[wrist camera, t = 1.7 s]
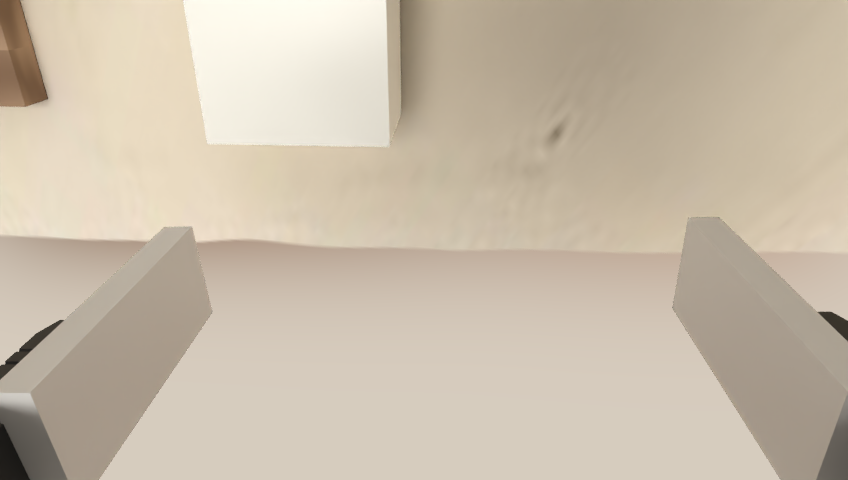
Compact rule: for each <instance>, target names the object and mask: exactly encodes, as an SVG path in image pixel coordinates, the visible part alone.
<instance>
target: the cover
mask: <svg viewBox="0 0 848 480" xmlns="http://www.w3.org/2000/svg"><path fill="white" fill-rule="evenodd" d="M183 3H184V9H185V15H186V21H187V27H188V33H189V38H190V44H191V50H192V56H193V62H194V68H195V74H196V80H197V86H198V92H199V98H200V104H201V110H202V115H203V121H204V127H205V133H206V139H207V144H237V145H296V146H354V147H390V145H391V142H392V139H393V136H394V133H395V130H396V127H397V124H398V121H399V118H400V115H401V43H400V0H183Z"/></svg>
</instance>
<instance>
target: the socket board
mask: <svg viewBox="0 0 848 480" xmlns="http://www.w3.org/2000/svg"><path fill="white" fill-rule="evenodd" d="M46 99H48V98H47V95H46V91H45V88H44V84H43V81H42V77H41V74H40V70H39V67H38V63H37V60H36V56H35V53H34V49H33V46H32V42H31V39H30V35H29V32H28V28H27V25H26V21H25V18H24V14H23V11H22V7H21V4H20V0H0V106H19V107H26V106H29V105H32V104H34V103H37V102H40V101H43V100H46Z"/></svg>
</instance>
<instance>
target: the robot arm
mask: <svg viewBox="0 0 848 480" xmlns="http://www.w3.org/2000/svg"><path fill="white" fill-rule="evenodd" d="M672 308H673V310H674V312H675V313H676V315H677V316H678V318H679V319H680V321H681V323H682V324H683V326H684V327H685V329H686V331H687V332H688V334H689V335H690V337H691V338H692V340H693V342H694V343H695V345H696V346H697V348H698V349H699V351H700V353H701V354H702V356H703V357H704V359H705V361H706V362H707V364H708V365H709V367H710V368H711V370H712V372H713V373H714V375H715V376H716V378H717V380H718V381H719V383H720V384H721V386H722V388H723V389H724V390H725V392H726V394H727V395H728V397H729V399H730V400H731V402H732V403H733V405H734V407H735V408H736V410H737V411H738V413H739V414H740V416H741V418H742V419H743V421H744V422H745V424H746V426H747V427H748V429H749V430H750V432H751V433H752V435H753V436H754V438H755V440H756V441H757V443H758V444H759V446H760V448H761V449H762V451H763V453H764V454H765V455H766V457H767V459H768V460H769V462H770V463H771V465H772V467H773V468H774V470H775V471H776V473H777V475H778V476H779V478H780V479H781V480H848V321H847V320H845V319H844V318H842V317H840V316H838V315H836V314H834V313H832V312H817V311H816V310H815V309H813V307H812V306H810V305H809V304H808V303H807V302H806V301H805V300H804V299H803V298H802V297H801V296H800V295H799V294H798V293H797V292H796V291H795V290H794V289H793V288H792V287H791V286H790V285H789V284H788V283H787V282H786V281H785V280H784V279H783V278H781V277H780V276H779V275H778V274H777V273H776V272H775V271H774V270H773V269H772V268H771V267H770V266H769V265H768V264H767V263H766V262H765V261H764V260H763V259H762V258H761V257H760V256H759V255H758V254H757V253H756V252H755V251H754V250H752V249H751V248H750V247H749V246H748V245H747V244H746V243H745V242H744V241H743V240H742V239H741V238H740V237H739V236H738V235H737V234H736V233H735V232H734V231H733V230H732V229H731V228H730V227H729V226H728V225H727V224H726V223H725V222H724V221H722V220H721V219H720V218H719V217H693V218H688V222H687V228H686V234H685V239H684V245H683V251H682V256H681V263H680V268H679V273H678V279H677V285H676V290H675V296H674V301H673V307H672ZM211 314H212V309H211V304H210V301H209V296H208V291H207V287H206V283H205V279H204V276H203V271H202V267H201V262H200V258H199V254H198V250H197V245H196V241H195V237H194V233H193V229H192V227H164V228H163V229H162V230H161V231H160V232H159V233H158V234H156V235H155V236H154V237H153V238H152V239H151V240H150V241H149V242H148V243H147V244H146V245H145V246H144V247H143V248H142V249H140V250H139V251H138V252H137V253H136V254H135V255H134V256H133V257H132V258H131V259H130V260H129V261H127V263H125V264H124V265H123V266H122V267H121V268H120V269H119V270H118V271H117V272H116V273H115V274H113V276H111V277H110V278H109V279H108V280H107V281H106V282H105V283H104V284H103V285H102V286H101V287H99V288H98V289H97V290H96V291H95V292H94V293H93V294H92V295H91V296H90V297H89V298H88V299H87V300H86V301H84V303H82V304H81V305H80V306H79V307H78V308H77V309H76V310H75V311H74V312H73V313H72V314H70V316H68V317H67V318H66V319H65V320H59V321H58V322H56V323H54V324H52V325H50V326H49V327H47V328H45V329H44V330H42V331H40V332H38V333H36V334H35V335H34V336H33V337H32V338H31V339H30V340H29V341H28V342H26V343H25V344H24V345H23V346H22V347H21V348H20V350H19V352H16V353H14V354H13V355H12V356H11V357H10V358H9V359H7V360H6V361H5V362H6V364H5V365H1V366H0V480H99V479H100V477H101V476H102V474H103V473H104V471H105V470H106V468H107V467H108V465H109V464H110V462H111V461H112V459H113V458H114V457H115V455H116V454H117V452H118V451H119V449H120V448H121V446H122V444H123V443H124V442H125V440H126V439H127V437H128V436H129V434H130V433H131V431H132V430H133V429H134V427H135V426H136V424H137V423H138V421H139V420H140V418H141V417H142V415H143V414H144V412H145V411H146V409H147V408H148V406H149V405H150V404H151V402H152V400H153V399H154V398H155V396H156V394H157V393H158V392H159V390H160V389H161V387H162V386H163V384H164V383H165V381H166V380H167V379H168V377H169V376H170V374H171V373H172V371H173V370H174V368H175V367H176V365H177V364H178V362H179V361H180V359H181V358H182V356H183V355H184V354H185V352H186V351H187V349H188V348H189V346H190V345H191V343H192V342H193V340H194V339H195V337H196V336H197V334H198V333H199V331H200V330H201V328H202V327H203V326H204V324H205V323H206V321H207V320H208V318H209V317H210V315H211Z"/></svg>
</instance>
